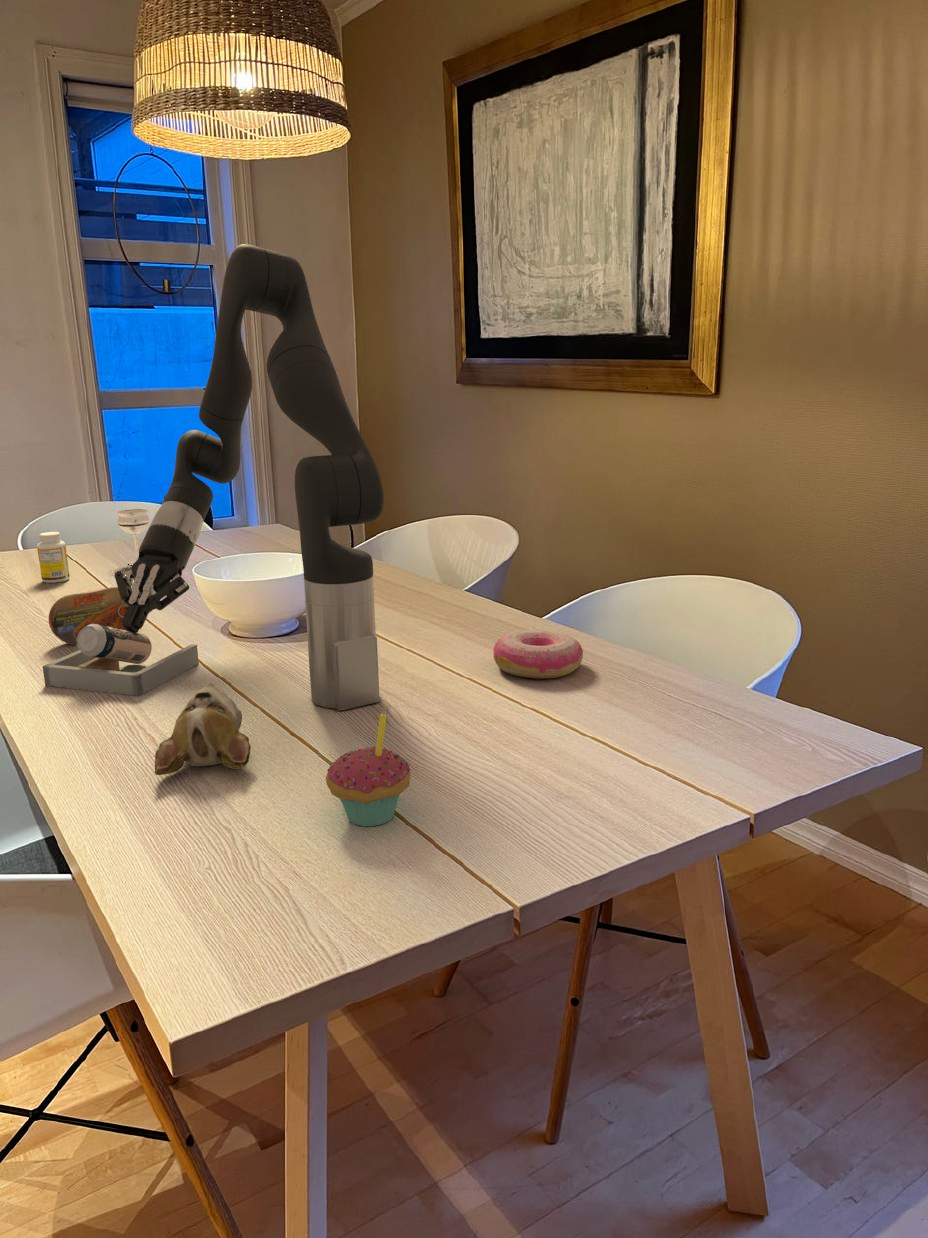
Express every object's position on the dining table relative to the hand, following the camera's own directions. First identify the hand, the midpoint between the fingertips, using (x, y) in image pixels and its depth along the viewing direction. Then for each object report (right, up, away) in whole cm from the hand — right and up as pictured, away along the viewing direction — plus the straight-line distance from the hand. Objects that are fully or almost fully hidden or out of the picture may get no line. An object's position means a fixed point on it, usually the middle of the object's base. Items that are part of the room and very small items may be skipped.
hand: (129, 629), depth 144 cm
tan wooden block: (-3, -8, -5) cm, 10 cm away
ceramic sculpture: (+21, -15, -32) cm, 41 cm away
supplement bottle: (-36, +10, +58) cm, 69 cm away
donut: (+62, -6, -2) cm, 62 cm away
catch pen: (0, -7, -2) cm, 7 cm away
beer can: (+1, -3, +3) cm, 5 cm away
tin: (-11, -2, +17) cm, 20 cm away
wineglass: (-24, +14, +74) cm, 79 cm away
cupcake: (+41, -19, -46) cm, 65 cm away
